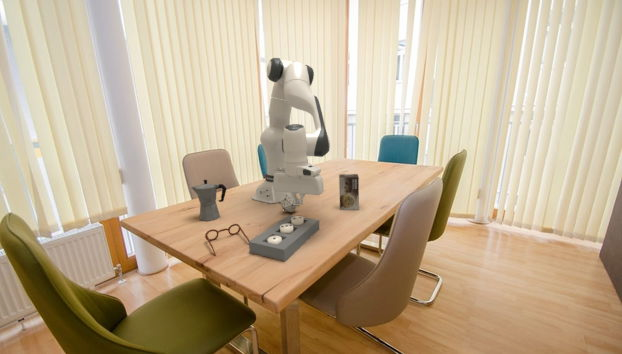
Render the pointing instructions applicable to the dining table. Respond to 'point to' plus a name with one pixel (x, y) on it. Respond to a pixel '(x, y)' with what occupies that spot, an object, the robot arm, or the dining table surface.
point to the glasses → (223, 230)
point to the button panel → (283, 239)
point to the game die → (288, 204)
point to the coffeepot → (209, 200)
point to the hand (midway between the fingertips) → (298, 203)
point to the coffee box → (349, 191)
